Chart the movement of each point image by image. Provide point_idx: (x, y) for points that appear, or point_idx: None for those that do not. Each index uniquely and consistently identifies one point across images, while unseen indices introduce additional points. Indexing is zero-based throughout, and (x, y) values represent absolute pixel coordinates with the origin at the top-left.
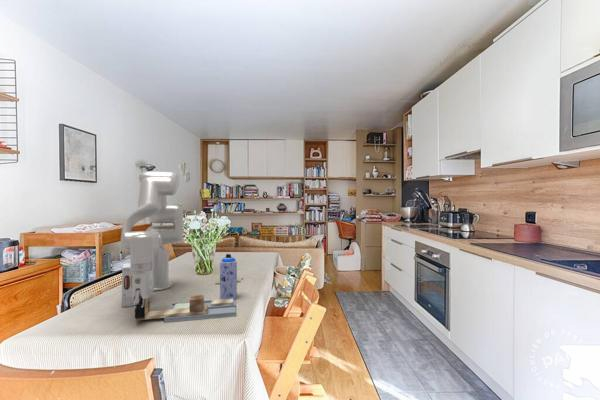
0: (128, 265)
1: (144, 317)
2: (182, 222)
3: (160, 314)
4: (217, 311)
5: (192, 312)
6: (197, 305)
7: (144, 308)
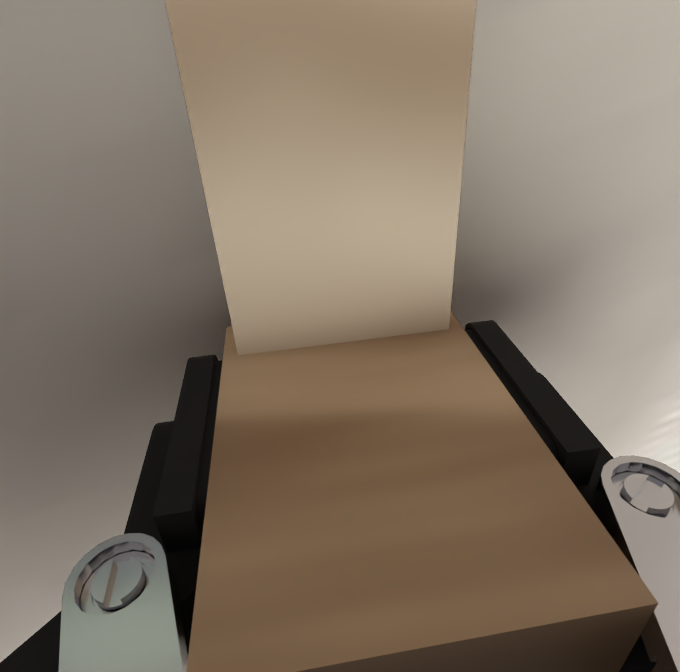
0: None
1: (455, 322)
2: None
3: (447, 36)
4: None
5: None
6: None
7: (576, 424)
